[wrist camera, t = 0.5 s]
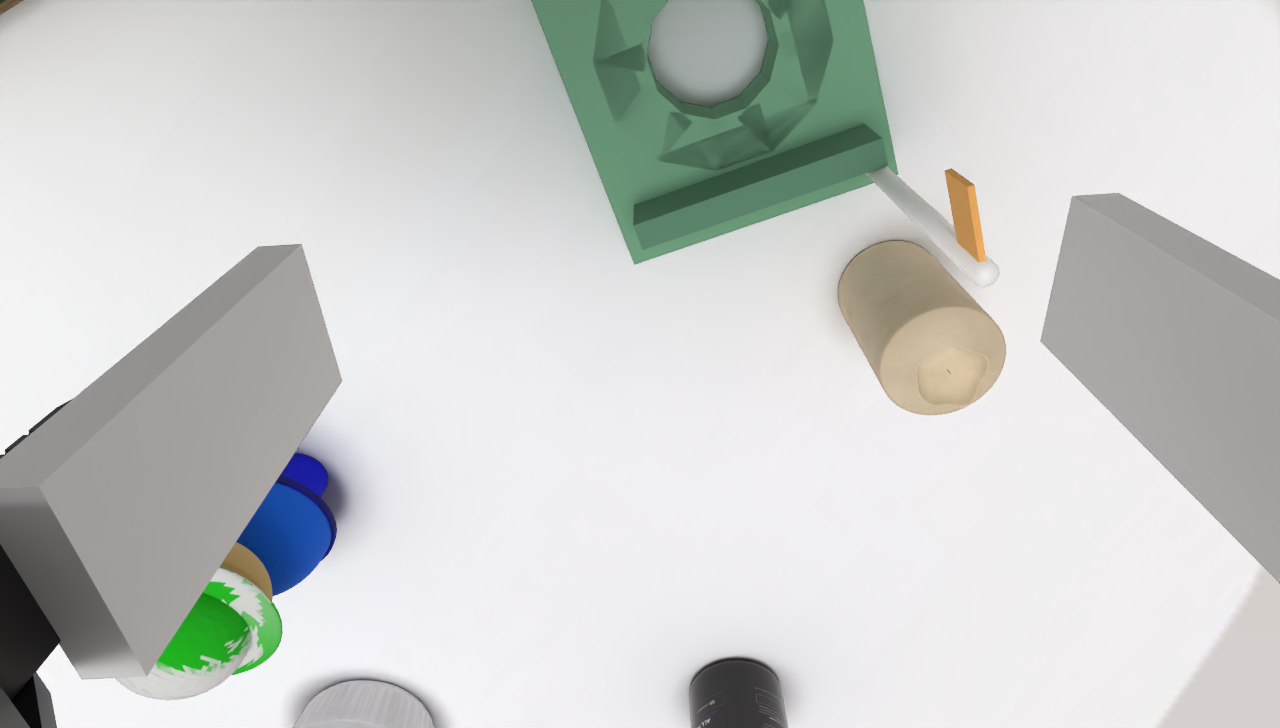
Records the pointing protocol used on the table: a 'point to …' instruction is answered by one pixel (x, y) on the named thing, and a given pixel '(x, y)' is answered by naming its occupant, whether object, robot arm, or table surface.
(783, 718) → the supplement bottle
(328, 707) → the ramekin
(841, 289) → the candle
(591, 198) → the table surface
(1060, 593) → the table surface
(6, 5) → the book
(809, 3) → the green
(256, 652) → the toy
